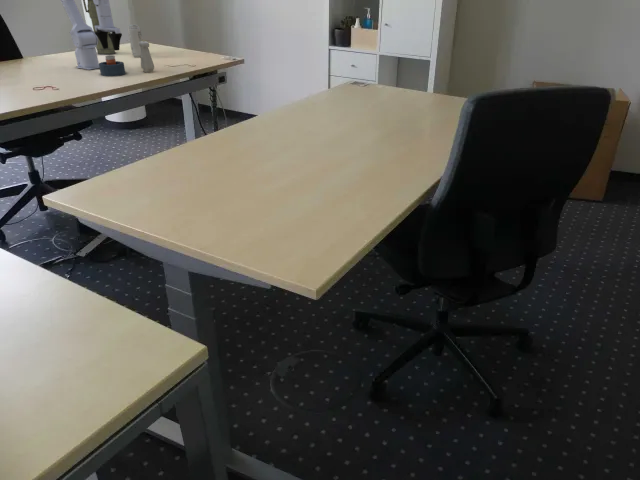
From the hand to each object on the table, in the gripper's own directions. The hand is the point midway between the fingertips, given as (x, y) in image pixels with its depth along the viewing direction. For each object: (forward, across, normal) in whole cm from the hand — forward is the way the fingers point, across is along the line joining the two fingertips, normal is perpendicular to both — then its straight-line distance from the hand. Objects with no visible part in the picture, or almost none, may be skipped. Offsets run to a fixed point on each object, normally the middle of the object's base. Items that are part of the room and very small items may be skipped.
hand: (111, 49), depth 240 cm
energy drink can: (+10, -25, +34) cm, 43 cm away
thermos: (+10, -45, +29) cm, 55 cm away
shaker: (+9, +2, -3) cm, 10 cm away
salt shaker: (+10, +10, +10) cm, 17 cm away
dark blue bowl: (+10, +2, -3) cm, 10 cm away
